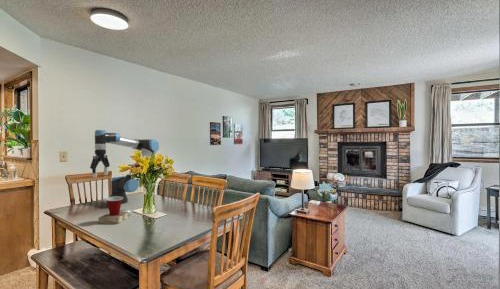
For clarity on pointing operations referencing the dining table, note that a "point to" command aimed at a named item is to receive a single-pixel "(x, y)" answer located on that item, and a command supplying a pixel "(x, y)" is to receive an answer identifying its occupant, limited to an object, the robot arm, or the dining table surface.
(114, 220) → the maple open box
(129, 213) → the pale green ball
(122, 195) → the robot arm
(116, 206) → the plastic cup
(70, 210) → the dining table surface
